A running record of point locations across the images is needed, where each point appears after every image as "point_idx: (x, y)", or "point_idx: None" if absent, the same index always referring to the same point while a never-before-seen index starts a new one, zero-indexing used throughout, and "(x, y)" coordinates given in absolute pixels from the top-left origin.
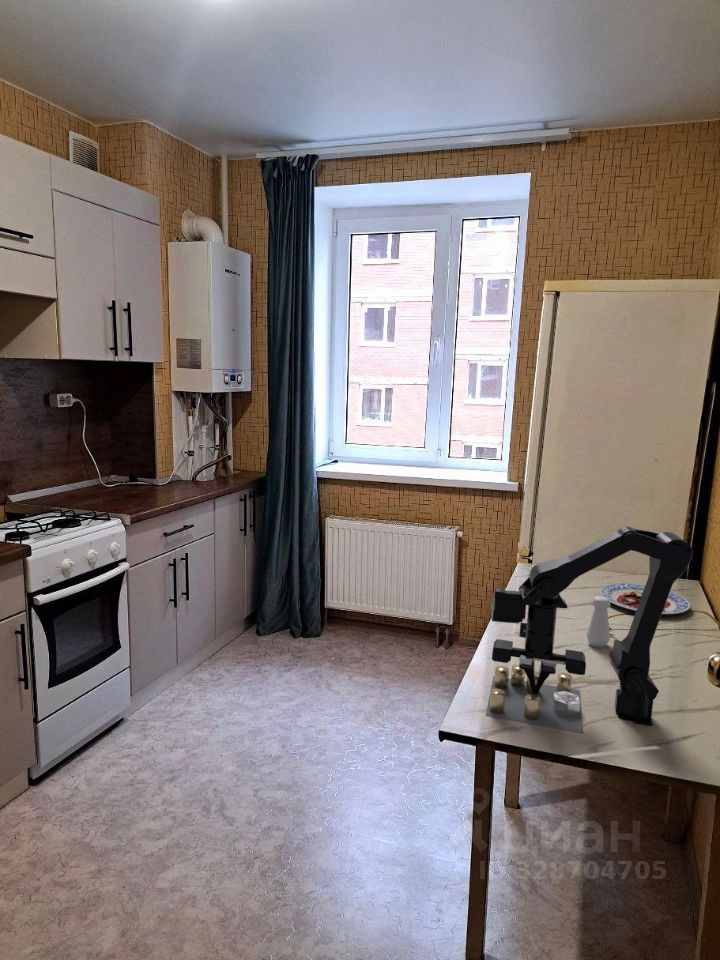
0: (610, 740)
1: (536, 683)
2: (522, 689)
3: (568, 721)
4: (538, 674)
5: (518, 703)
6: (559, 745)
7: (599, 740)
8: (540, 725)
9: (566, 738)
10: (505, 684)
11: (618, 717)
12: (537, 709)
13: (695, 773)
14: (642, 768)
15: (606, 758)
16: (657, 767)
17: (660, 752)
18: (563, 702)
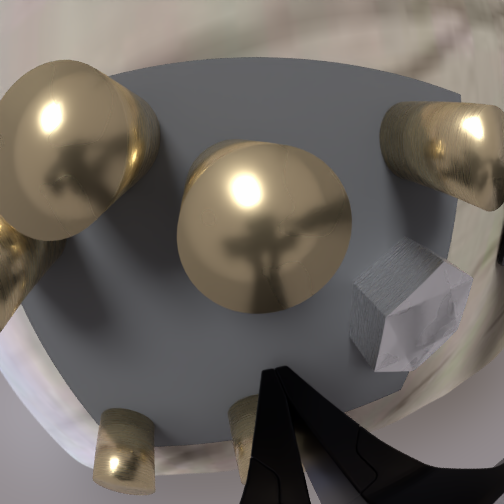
0: (445, 359)
1: (299, 432)
2: (160, 205)
3: None
4: (334, 477)
5: (183, 365)
6: None
7: (424, 374)
8: None
9: (353, 414)
10: (50, 265)
11: (501, 259)
12: None
13: (497, 351)
14: (448, 392)
15: (409, 410)
16: (468, 374)
17: (494, 333)
18: (402, 368)
